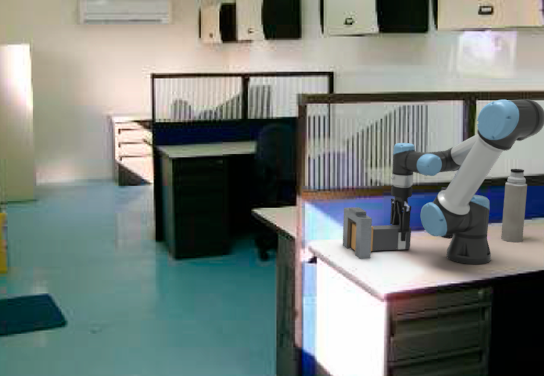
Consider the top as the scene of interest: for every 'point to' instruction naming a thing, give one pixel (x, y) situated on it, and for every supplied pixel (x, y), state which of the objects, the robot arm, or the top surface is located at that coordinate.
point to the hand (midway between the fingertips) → (398, 246)
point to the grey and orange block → (383, 237)
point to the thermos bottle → (514, 207)
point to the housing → (358, 231)
